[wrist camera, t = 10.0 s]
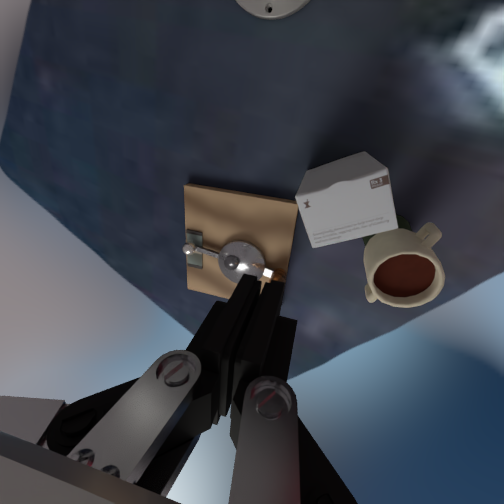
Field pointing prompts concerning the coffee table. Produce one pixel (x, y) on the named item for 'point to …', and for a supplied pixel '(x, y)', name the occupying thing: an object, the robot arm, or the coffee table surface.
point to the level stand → (234, 232)
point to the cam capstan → (239, 260)
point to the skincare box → (346, 200)
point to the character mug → (403, 265)
